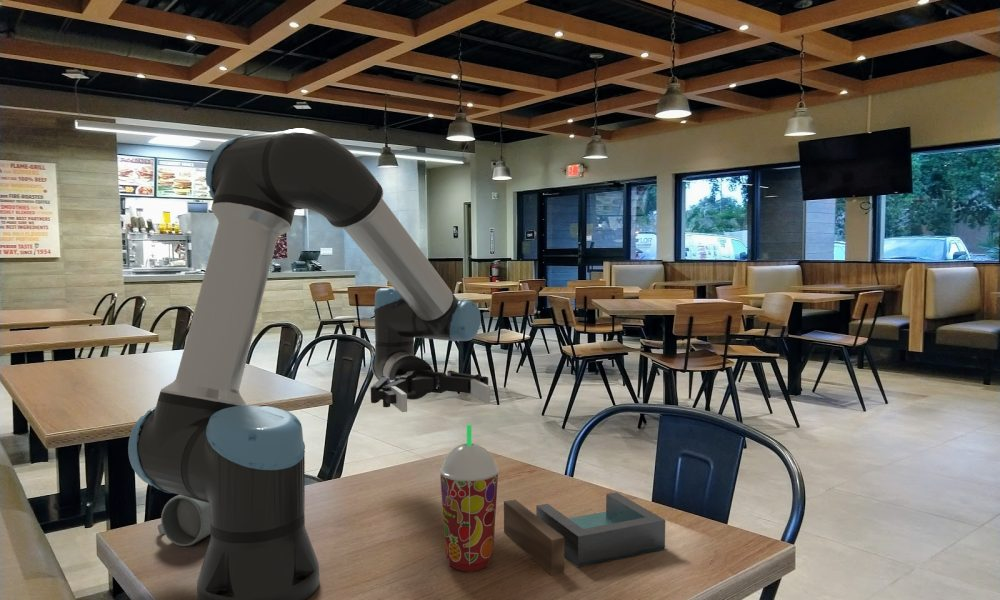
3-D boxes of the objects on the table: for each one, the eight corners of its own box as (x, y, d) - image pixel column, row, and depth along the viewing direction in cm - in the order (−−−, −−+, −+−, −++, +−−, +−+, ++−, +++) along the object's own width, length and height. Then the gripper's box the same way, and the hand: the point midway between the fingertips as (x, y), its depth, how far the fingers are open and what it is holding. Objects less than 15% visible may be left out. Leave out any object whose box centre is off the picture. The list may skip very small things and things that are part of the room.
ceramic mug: (237, 528, 109) (235, 481, 109) (203, 549, 101) (201, 498, 101) (181, 522, 112) (179, 477, 111) (143, 543, 104) (141, 494, 103)
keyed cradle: (578, 567, 95) (578, 536, 95) (530, 528, 109) (530, 501, 109) (664, 549, 101) (665, 519, 101) (609, 514, 115) (609, 488, 115)
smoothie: (436, 553, 100) (436, 419, 98) (492, 548, 101) (492, 417, 100) (444, 579, 92) (443, 434, 90) (504, 573, 93) (504, 431, 92)
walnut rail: (551, 575, 93) (551, 539, 93) (503, 532, 107) (503, 501, 107) (564, 572, 94) (564, 537, 93) (515, 529, 108) (515, 499, 108)
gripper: (472, 389, 129) (520, 414, 110) (340, 402, 119) (367, 431, 100) (472, 350, 128) (520, 368, 109) (339, 360, 118) (366, 381, 99)
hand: (447, 398), depth 104 cm, fingers open, 13 cm apart
